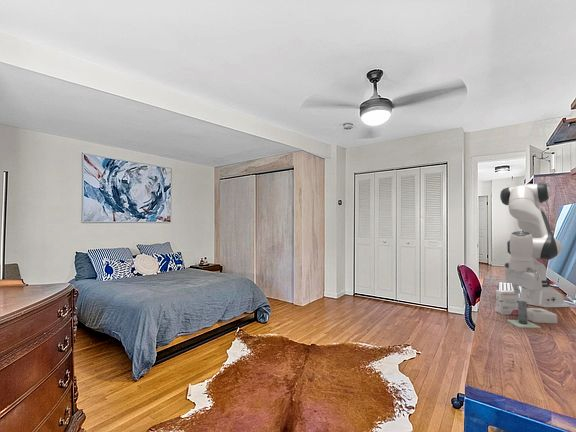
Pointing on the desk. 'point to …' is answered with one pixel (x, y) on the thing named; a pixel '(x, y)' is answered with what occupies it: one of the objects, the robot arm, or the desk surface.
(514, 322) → the mat
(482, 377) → the desk surface
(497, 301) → the ink box
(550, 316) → the white square frame block
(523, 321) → the plug
